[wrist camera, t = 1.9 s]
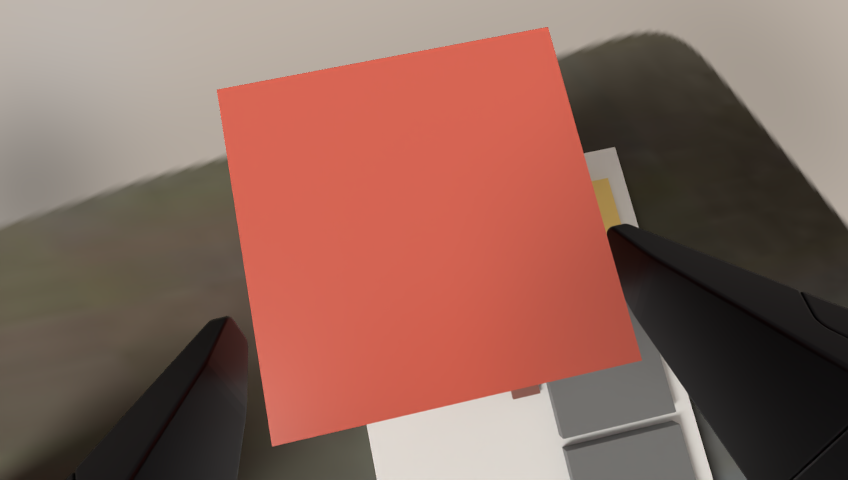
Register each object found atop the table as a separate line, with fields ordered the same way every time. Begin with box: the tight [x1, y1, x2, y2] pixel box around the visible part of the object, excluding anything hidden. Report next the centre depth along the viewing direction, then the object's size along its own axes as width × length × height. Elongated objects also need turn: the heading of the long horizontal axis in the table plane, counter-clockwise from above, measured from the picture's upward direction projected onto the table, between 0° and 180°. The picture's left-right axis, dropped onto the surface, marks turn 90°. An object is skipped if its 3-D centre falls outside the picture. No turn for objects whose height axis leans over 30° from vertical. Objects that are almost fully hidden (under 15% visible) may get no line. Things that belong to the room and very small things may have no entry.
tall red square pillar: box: [217, 27, 642, 446], centre depth 11 cm, size 4×4×13 cm
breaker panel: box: [367, 147, 713, 480], centre depth 17 cm, size 18×14×1 cm
